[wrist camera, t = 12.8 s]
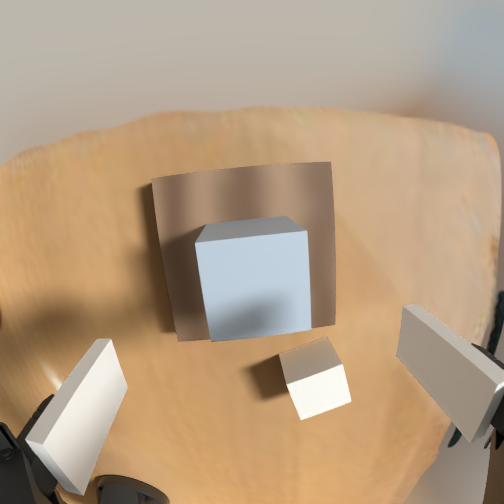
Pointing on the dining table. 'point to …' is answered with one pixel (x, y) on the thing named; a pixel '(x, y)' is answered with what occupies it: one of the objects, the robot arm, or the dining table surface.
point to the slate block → (254, 277)
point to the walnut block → (242, 208)
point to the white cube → (315, 378)
